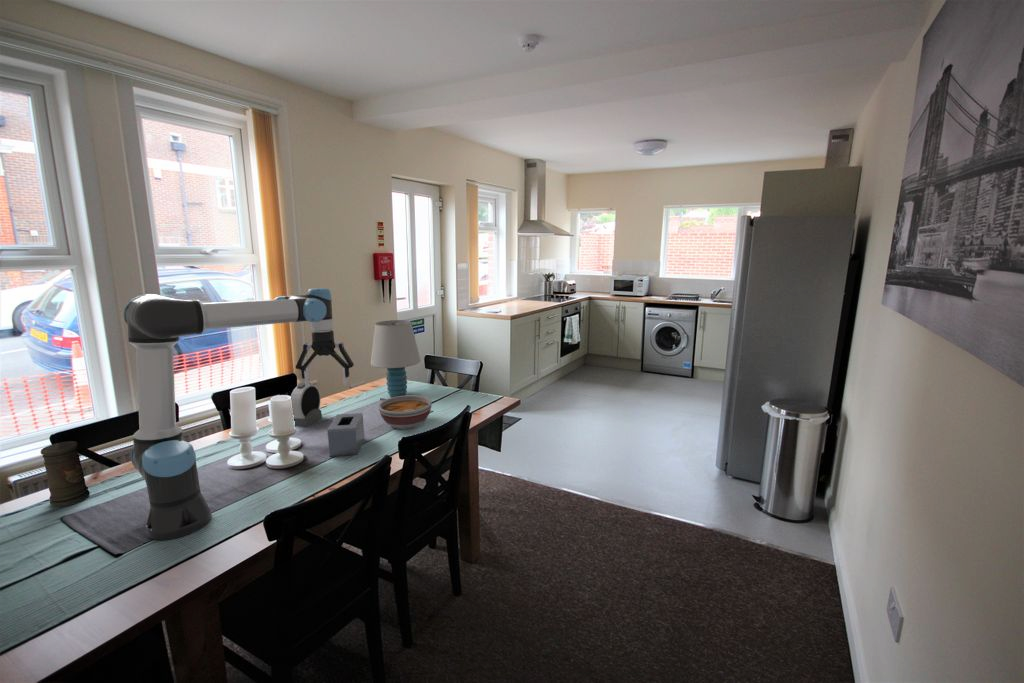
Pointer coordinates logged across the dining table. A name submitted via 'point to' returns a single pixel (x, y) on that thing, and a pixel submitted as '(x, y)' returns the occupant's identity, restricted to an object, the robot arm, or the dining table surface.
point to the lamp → (394, 353)
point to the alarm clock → (306, 405)
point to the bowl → (405, 411)
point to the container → (64, 474)
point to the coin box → (346, 435)
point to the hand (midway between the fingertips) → (326, 386)
